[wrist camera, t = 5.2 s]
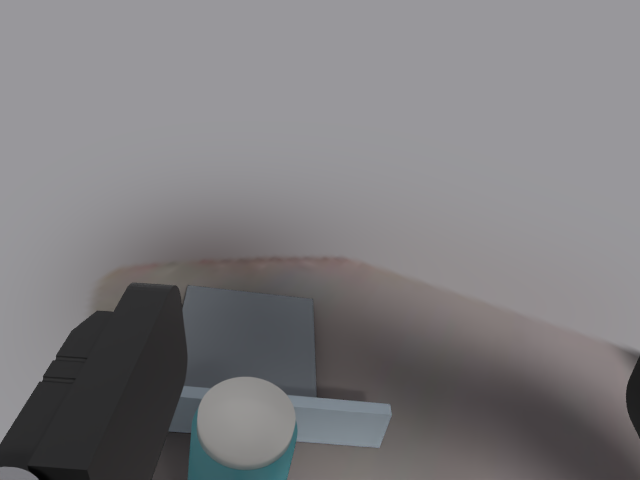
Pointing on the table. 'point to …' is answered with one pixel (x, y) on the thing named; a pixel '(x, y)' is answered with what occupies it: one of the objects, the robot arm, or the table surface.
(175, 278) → the table surface
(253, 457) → the jar
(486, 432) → the table surface
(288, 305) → the mat
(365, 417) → the wall
